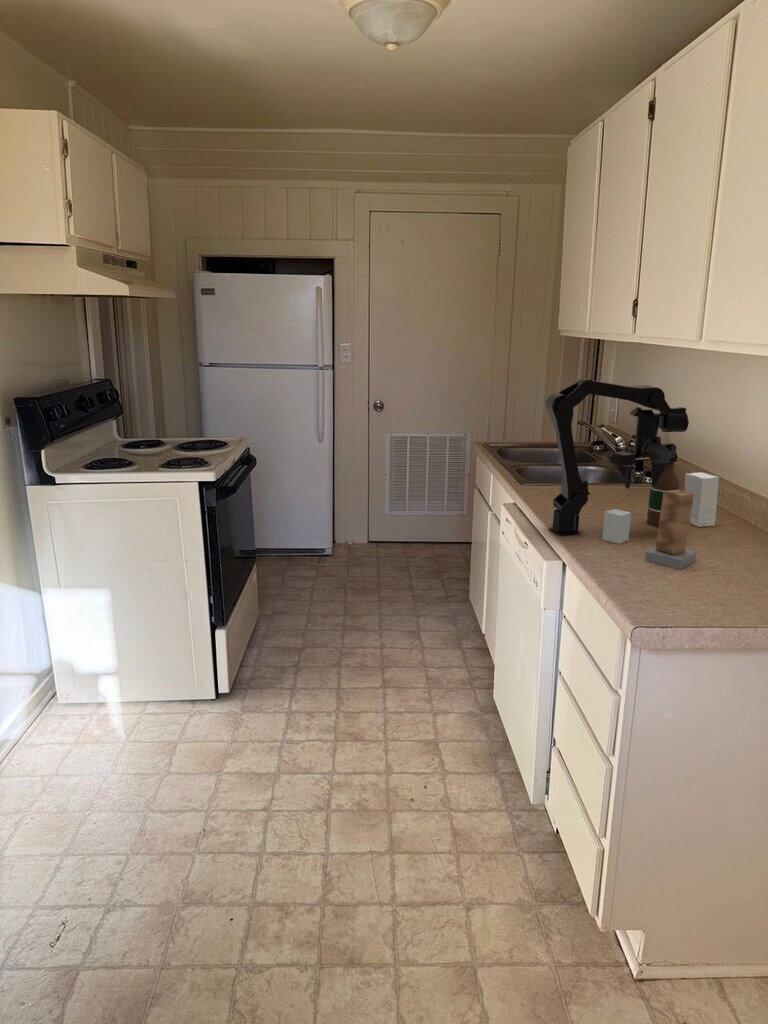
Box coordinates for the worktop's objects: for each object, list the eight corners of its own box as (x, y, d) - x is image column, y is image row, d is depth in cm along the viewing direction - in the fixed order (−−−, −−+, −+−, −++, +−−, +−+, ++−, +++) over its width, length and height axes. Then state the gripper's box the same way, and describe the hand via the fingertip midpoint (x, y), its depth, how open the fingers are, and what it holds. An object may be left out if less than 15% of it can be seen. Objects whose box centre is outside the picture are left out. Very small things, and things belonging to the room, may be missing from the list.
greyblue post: (618, 544, 191) (621, 515, 189) (602, 539, 195) (604, 511, 193) (628, 540, 194) (631, 512, 192) (612, 536, 198) (615, 508, 196)
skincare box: (715, 526, 208) (721, 477, 204) (696, 527, 207) (703, 478, 203) (697, 518, 216) (703, 471, 212) (679, 519, 215) (685, 471, 211)
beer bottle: (640, 521, 212) (649, 442, 206) (661, 519, 215) (670, 441, 209) (659, 528, 205) (668, 447, 199) (680, 525, 208) (690, 445, 202)
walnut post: (655, 549, 178) (663, 491, 175) (667, 547, 181) (675, 490, 178) (672, 554, 174) (681, 495, 171) (684, 552, 177) (693, 493, 174)
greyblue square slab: (644, 562, 178) (645, 551, 177) (660, 554, 184) (661, 544, 184) (679, 571, 172) (681, 560, 171) (695, 563, 178) (696, 552, 177)
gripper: (638, 438, 185) (632, 496, 189) (695, 435, 191) (688, 491, 195) (611, 432, 195) (606, 487, 199) (666, 428, 201) (660, 482, 205)
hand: (640, 487), depth 199 cm, fingers open, 9 cm apart
